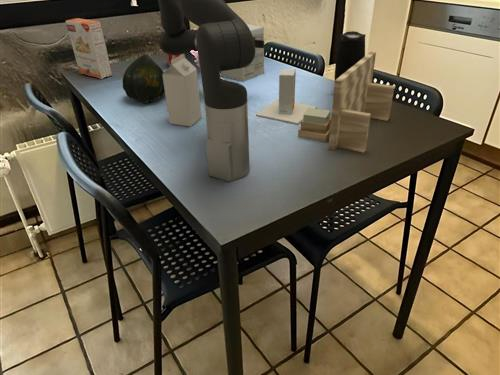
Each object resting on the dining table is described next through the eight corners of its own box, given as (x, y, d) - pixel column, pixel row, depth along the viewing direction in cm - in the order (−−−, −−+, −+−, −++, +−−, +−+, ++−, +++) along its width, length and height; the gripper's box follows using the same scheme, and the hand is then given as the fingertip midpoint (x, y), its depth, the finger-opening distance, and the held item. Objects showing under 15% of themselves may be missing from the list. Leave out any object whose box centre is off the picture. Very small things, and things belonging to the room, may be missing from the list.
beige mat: (297, 124, 116) (297, 123, 116) (256, 115, 122) (256, 114, 122) (316, 108, 126) (316, 106, 125) (277, 100, 132) (277, 99, 132)
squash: (118, 94, 125) (143, 53, 123) (112, 83, 137) (134, 45, 135) (156, 116, 134) (181, 79, 131) (147, 104, 146) (169, 69, 143)
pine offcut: (325, 143, 106) (326, 135, 105) (297, 138, 110) (298, 129, 108) (333, 135, 111) (333, 126, 109) (306, 129, 114) (306, 121, 113)
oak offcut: (325, 134, 105) (326, 125, 104) (300, 130, 108) (300, 121, 107) (331, 126, 110) (332, 117, 108) (306, 122, 112) (307, 114, 111)
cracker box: (78, 74, 162) (64, 20, 151) (91, 71, 166) (78, 17, 155) (100, 80, 156) (87, 23, 144) (113, 76, 160) (101, 20, 148)
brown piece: (361, 156, 99) (371, 85, 89) (328, 149, 103) (334, 80, 93) (390, 116, 119) (401, 55, 109) (362, 111, 123) (370, 51, 113)
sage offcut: (325, 124, 105) (325, 117, 103) (303, 121, 107) (303, 114, 105) (329, 117, 108) (330, 110, 107) (308, 114, 110) (308, 107, 109)
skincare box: (292, 114, 121) (293, 75, 114) (278, 113, 122) (278, 74, 115) (294, 107, 126) (296, 69, 119) (281, 106, 127) (282, 68, 120)
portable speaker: (340, 88, 141) (346, 29, 130) (364, 93, 135) (373, 33, 125) (327, 94, 135) (332, 34, 125) (352, 101, 130) (360, 38, 119)
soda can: (178, 70, 164) (174, 39, 158) (165, 67, 167) (161, 37, 161) (189, 65, 169) (185, 36, 162) (176, 63, 172) (173, 34, 166)
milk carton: (169, 124, 119) (159, 59, 108) (181, 115, 124) (173, 52, 114) (190, 127, 117) (182, 61, 106) (201, 118, 122) (195, 54, 112)
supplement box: (217, 75, 157) (214, 28, 147) (239, 67, 165) (238, 22, 155) (242, 82, 149) (241, 33, 140) (265, 73, 157) (264, 26, 148)
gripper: (197, 34, 119) (243, 39, 111) (224, 26, 129) (268, 29, 122) (200, 60, 123) (244, 66, 115) (226, 50, 133) (268, 54, 126)
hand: (256, 47), depth 119 cm, fingers open, 8 cm apart
